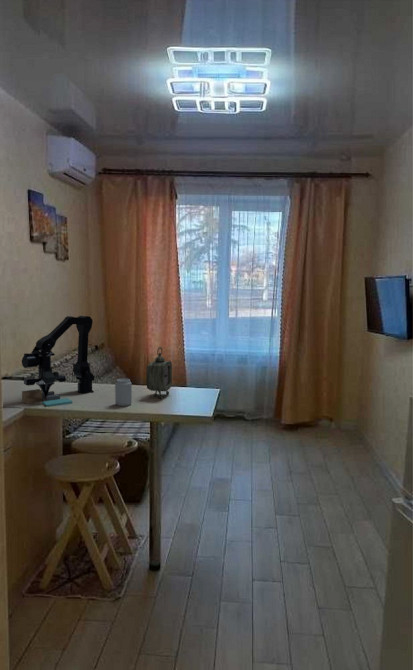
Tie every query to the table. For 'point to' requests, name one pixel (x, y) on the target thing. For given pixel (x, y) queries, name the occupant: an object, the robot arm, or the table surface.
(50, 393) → the grey blocks
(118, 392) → the can
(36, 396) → the walnut block
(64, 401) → the pad
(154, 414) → the table surface
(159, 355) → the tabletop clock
